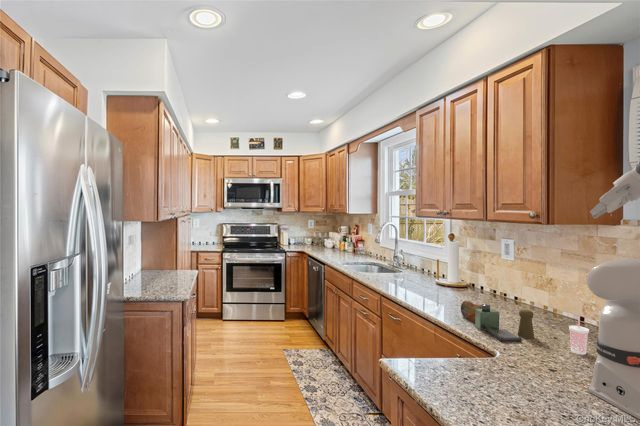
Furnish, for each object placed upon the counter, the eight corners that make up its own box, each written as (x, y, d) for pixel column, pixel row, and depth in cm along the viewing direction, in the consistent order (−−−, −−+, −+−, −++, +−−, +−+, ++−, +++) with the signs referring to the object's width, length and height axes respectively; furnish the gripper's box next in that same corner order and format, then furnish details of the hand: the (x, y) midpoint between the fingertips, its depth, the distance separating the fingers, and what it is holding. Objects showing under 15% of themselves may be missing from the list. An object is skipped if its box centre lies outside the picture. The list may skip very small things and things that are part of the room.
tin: (460, 315, 172) (460, 298, 172) (465, 315, 173) (465, 298, 173) (481, 326, 158) (481, 307, 158) (487, 325, 159) (487, 307, 158)
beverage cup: (579, 356, 126) (579, 318, 126) (564, 349, 132) (565, 312, 132) (593, 354, 128) (593, 317, 127) (577, 348, 134) (578, 311, 133)
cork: (536, 339, 142) (537, 312, 142) (520, 338, 143) (521, 311, 143) (530, 333, 148) (531, 308, 148) (515, 332, 149) (515, 307, 149)
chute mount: (521, 341, 140) (521, 316, 139) (495, 341, 139) (496, 316, 139) (498, 326, 157) (498, 303, 157) (475, 326, 157) (475, 303, 157)
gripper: (638, 188, 111) (598, 218, 117) (636, 199, 127) (600, 224, 132) (620, 175, 115) (582, 205, 120) (620, 187, 130) (586, 212, 136)
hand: (592, 215), depth 126 cm, fingers open, 8 cm apart
